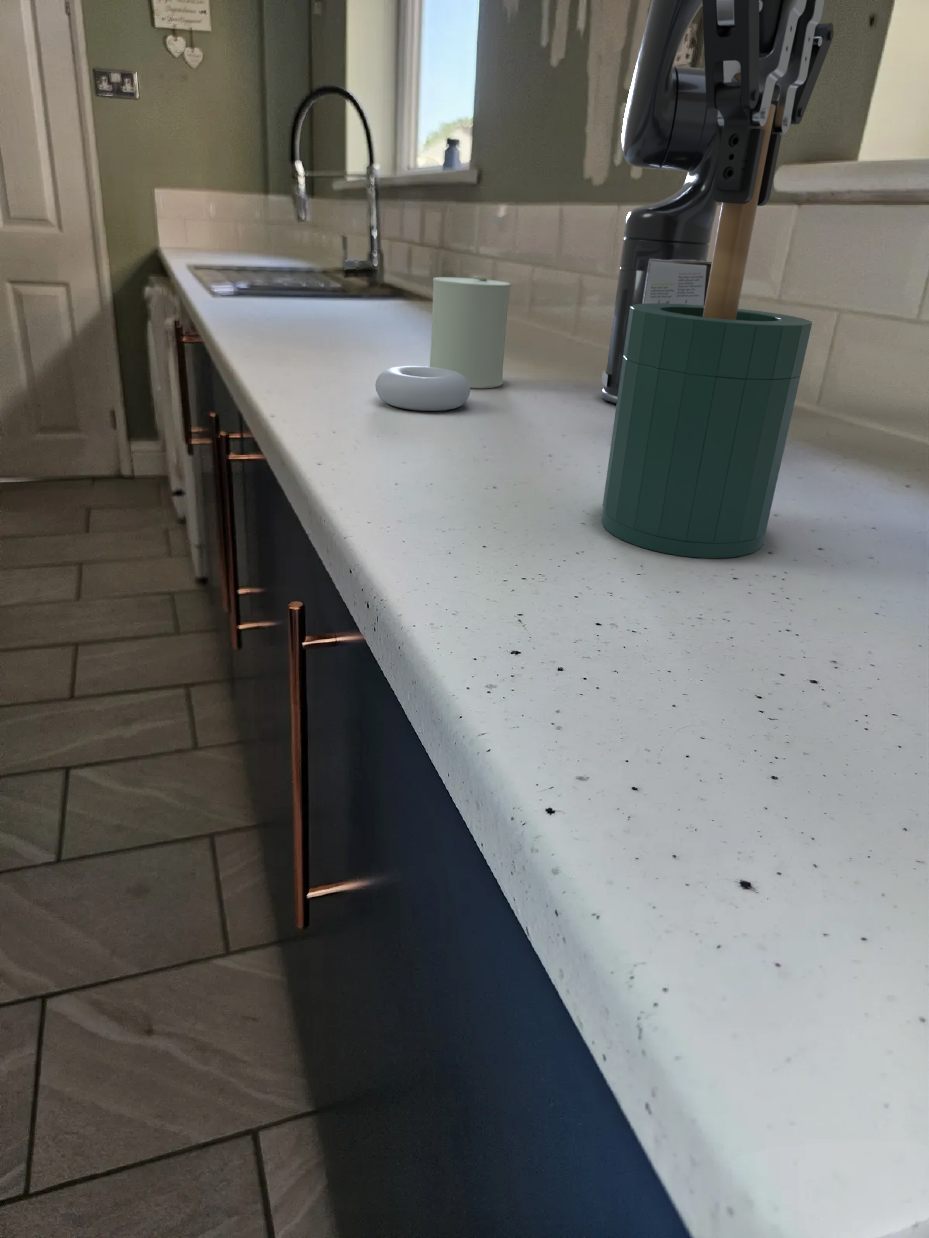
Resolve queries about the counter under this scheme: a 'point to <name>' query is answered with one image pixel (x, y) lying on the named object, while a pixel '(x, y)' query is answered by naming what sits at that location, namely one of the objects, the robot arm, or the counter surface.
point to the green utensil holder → (701, 428)
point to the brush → (734, 245)
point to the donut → (422, 388)
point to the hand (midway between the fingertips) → (739, 202)
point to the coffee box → (677, 281)
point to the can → (470, 328)
